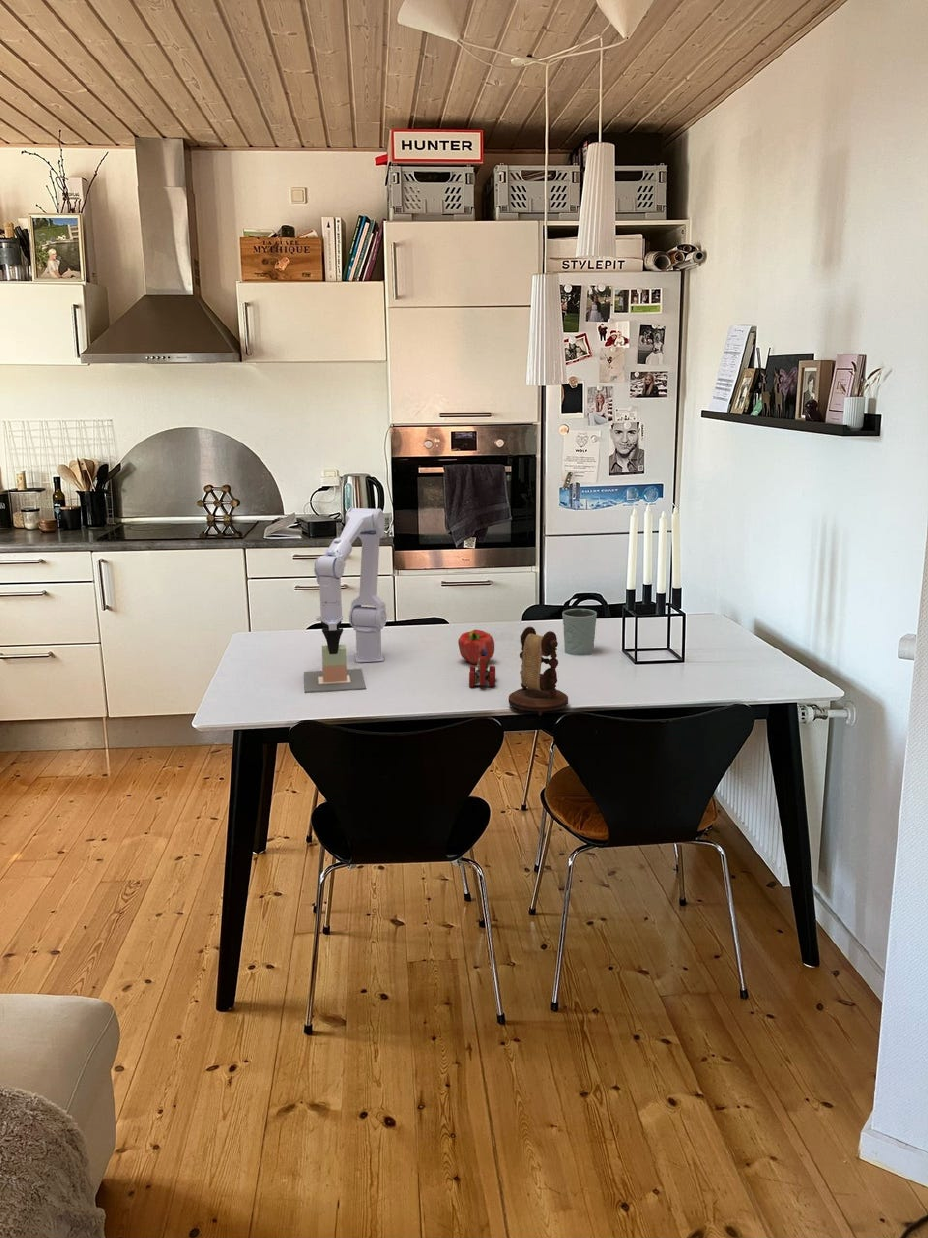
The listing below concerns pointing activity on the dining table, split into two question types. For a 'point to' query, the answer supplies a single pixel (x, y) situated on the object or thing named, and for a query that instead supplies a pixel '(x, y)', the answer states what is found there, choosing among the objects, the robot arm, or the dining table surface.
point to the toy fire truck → (482, 670)
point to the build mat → (316, 684)
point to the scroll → (538, 674)
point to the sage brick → (334, 656)
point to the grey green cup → (579, 631)
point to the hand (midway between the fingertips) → (332, 650)
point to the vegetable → (475, 645)
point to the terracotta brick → (334, 673)
